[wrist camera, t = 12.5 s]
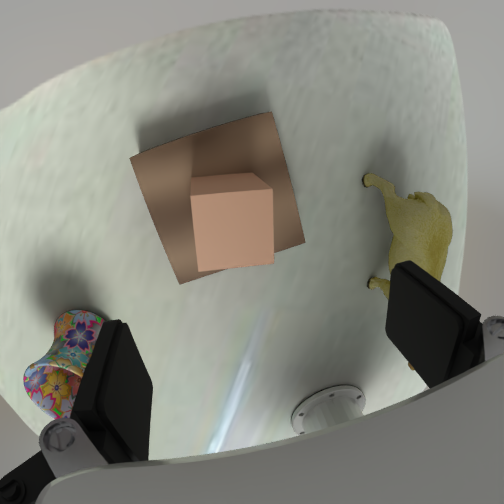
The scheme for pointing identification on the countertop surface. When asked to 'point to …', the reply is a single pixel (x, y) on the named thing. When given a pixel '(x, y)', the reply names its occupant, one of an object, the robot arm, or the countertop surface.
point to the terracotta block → (232, 221)
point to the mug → (63, 363)
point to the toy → (413, 231)
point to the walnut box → (208, 164)
